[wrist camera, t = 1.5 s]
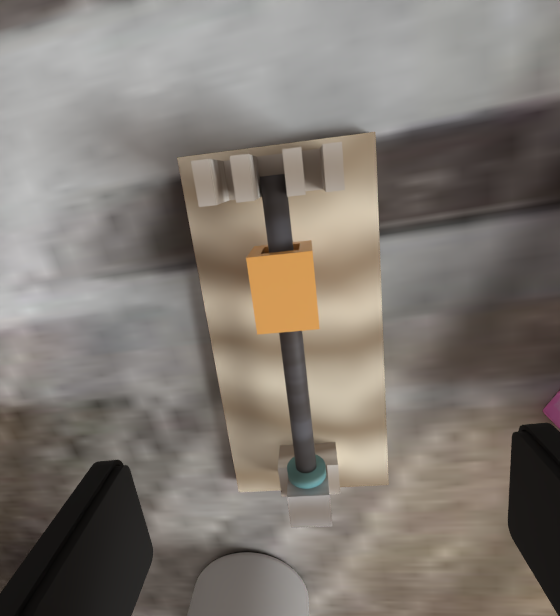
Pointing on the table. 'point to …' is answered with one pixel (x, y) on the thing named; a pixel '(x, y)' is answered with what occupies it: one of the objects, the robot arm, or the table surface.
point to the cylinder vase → (249, 588)
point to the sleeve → (283, 289)
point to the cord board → (324, 347)
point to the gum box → (553, 410)
